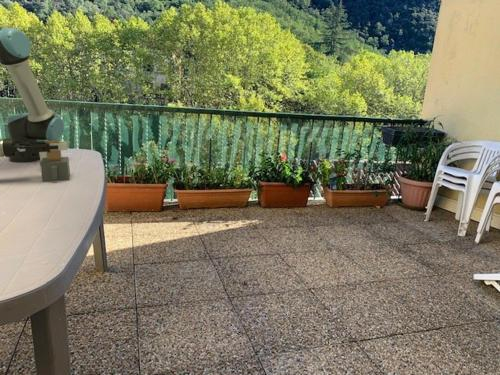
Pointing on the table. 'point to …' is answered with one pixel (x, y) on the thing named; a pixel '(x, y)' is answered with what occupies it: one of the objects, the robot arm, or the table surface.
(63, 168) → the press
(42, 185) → the table surface
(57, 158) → the plunger
